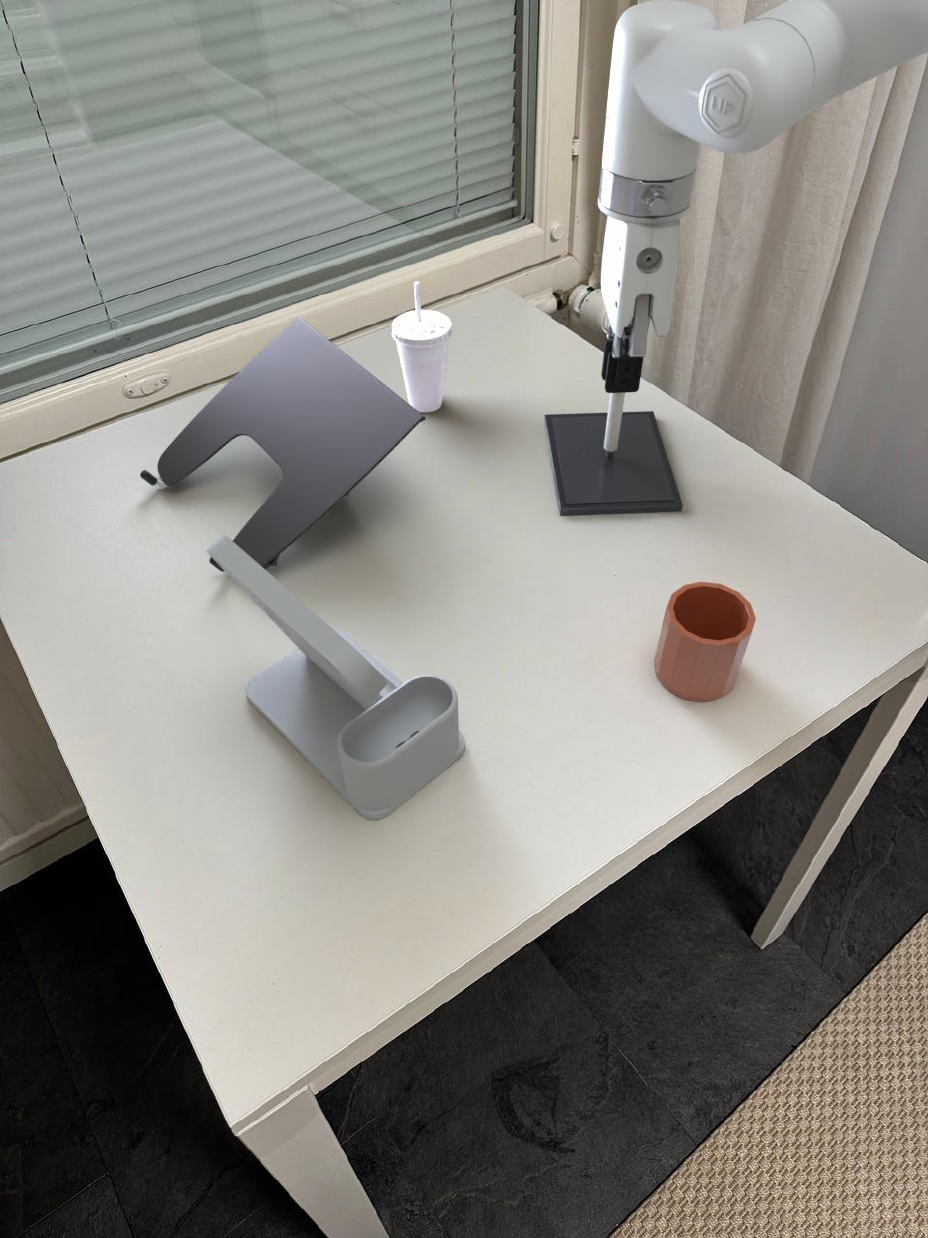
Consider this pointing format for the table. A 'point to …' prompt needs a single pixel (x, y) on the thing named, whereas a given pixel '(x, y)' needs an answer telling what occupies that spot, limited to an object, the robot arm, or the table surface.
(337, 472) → the laptop tray
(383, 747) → the phone holder
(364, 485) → the table surface
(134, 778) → the table surface
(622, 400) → the stylus
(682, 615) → the pencil cup
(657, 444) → the tablet
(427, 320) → the smoothie
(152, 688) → the table surface
